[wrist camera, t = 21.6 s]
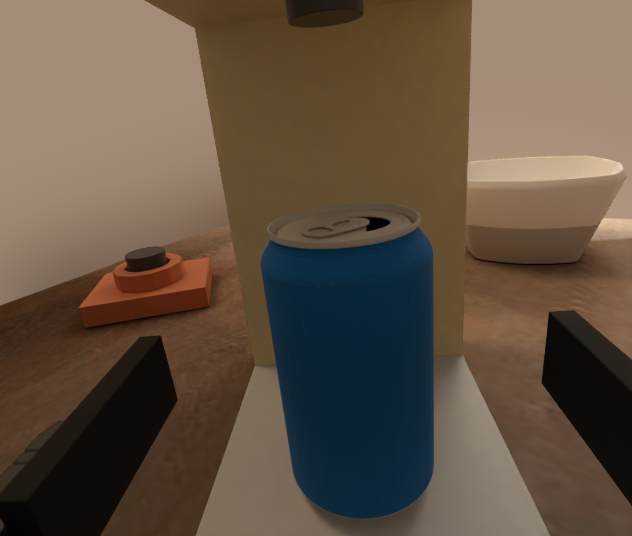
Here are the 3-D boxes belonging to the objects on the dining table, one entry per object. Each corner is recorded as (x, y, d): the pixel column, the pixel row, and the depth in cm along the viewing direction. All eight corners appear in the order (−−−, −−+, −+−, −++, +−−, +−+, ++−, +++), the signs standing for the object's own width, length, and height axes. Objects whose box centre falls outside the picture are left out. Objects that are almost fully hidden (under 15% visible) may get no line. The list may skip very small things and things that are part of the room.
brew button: (125, 276, 43) (120, 260, 42) (133, 264, 46) (129, 249, 46) (165, 270, 43) (161, 254, 43) (170, 259, 47) (166, 244, 46)
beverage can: (465, 483, 18) (474, 215, 14) (340, 565, 15) (304, 262, 11) (376, 404, 24) (364, 194, 19) (272, 454, 21) (231, 222, 17)
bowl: (450, 226, 60) (451, 160, 57) (594, 227, 53) (604, 152, 50) (434, 271, 45) (434, 184, 42) (633, 280, 38) (652, 177, 35)
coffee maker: (167, 671, 14) (-306, -580, 5) (269, 345, 34) (209, -32, 25) (600, 679, 13) (991, -978, 4) (445, 336, 32) (449, -67, 23)
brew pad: (84, 328, 40) (72, 290, 39) (111, 289, 50) (102, 258, 48) (209, 306, 42) (201, 270, 41) (212, 273, 51) (206, 243, 50)
